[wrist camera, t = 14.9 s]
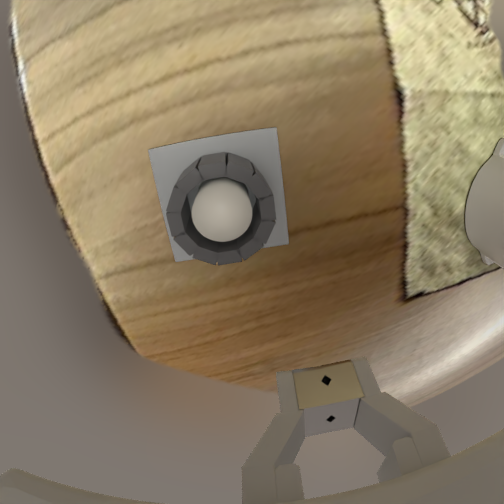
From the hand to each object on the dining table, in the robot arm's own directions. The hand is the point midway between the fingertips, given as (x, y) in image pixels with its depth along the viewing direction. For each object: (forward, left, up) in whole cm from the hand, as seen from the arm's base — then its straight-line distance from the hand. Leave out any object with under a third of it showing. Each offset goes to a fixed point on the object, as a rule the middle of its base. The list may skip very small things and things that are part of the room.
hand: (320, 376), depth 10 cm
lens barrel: (+3, 0, -23) cm, 23 cm away
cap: (+3, 0, -22) cm, 22 cm away
